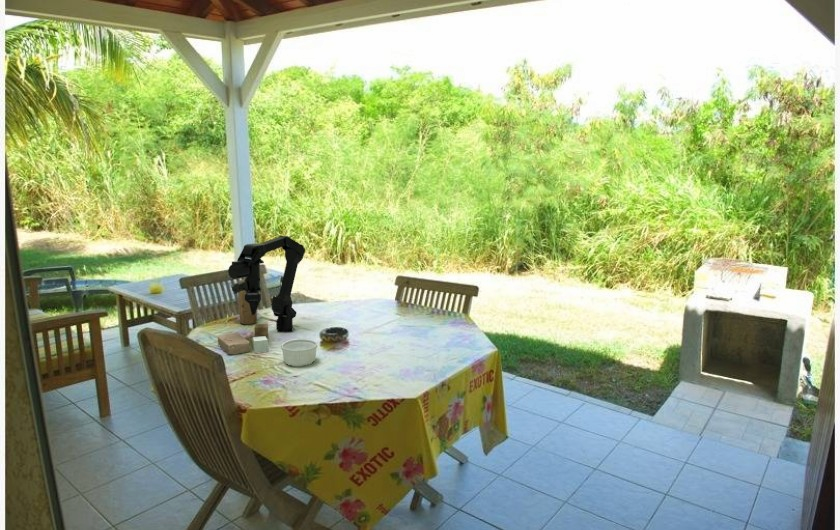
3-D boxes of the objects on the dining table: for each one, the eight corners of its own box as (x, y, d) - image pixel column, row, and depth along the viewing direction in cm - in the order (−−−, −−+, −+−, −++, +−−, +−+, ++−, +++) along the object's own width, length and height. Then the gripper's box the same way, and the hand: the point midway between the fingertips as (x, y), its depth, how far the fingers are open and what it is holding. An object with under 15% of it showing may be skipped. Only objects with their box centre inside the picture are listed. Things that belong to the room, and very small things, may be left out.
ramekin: (286, 370, 204) (286, 352, 203) (278, 358, 216) (277, 341, 214) (321, 364, 210) (321, 347, 209) (311, 353, 222) (311, 336, 220)
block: (257, 324, 258) (256, 281, 254) (240, 325, 254) (239, 283, 251) (254, 317, 267) (253, 277, 263) (238, 319, 264) (236, 278, 260)
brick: (217, 344, 230) (216, 333, 229) (237, 341, 235) (236, 330, 234) (229, 357, 217) (228, 345, 216) (250, 353, 222) (250, 341, 221)
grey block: (265, 347, 227) (265, 336, 226) (267, 351, 223) (267, 339, 222) (253, 349, 225) (252, 337, 224) (254, 353, 221) (254, 341, 220)
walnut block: (268, 337, 240) (267, 323, 239) (267, 341, 235) (266, 327, 234) (256, 337, 239) (255, 324, 238) (254, 341, 234) (254, 327, 233)
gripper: (233, 271, 236) (234, 307, 239) (230, 280, 219) (231, 318, 221) (260, 270, 239) (261, 306, 242) (260, 279, 222) (261, 317, 224)
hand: (253, 311), depth 232 cm, fingers open, 9 cm apart
